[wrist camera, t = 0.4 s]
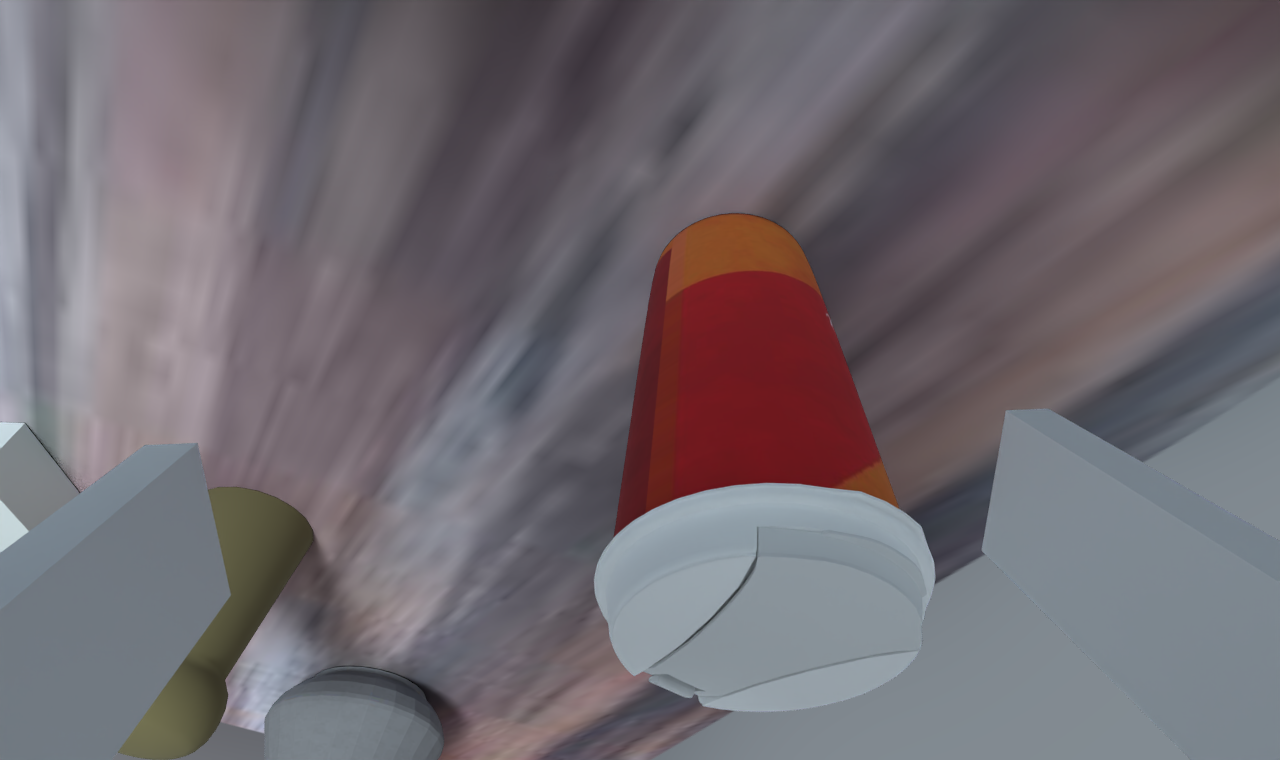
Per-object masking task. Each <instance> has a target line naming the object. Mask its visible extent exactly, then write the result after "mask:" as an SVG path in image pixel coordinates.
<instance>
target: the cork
mask: <svg viewBox="0 0 1280 760" xmlns="http://www.w3.org/2000/svg"><path fill="white" fill-rule="evenodd" d="M208 493H209V498H210V502H211V507H212V511H213V516H214V520H215V525H216V529H217V534H218V539H219V543H220V548H221V552H222V557H223V561H224V566H225V570H226V575H227V579H228V584H229V589H230V593H231V596H230V597H229V599H228V600H227V601H226V603H225V604H224V605H223V607H222V608H221V610H220V611H219V612H218V614H217V615H216V617H215V618H214V619H213V621H212V622H211V623H210V625H209V626H208V628H207V629H206V630H205V632H204V633H203V635H202V636H201V637H200V639H199V640H198V641H197V643H196V644H195V646H194V647H193V648H192V650H191V651H190V653H189V654H188V655H187V657H186V658H185V660H184V661H183V662H182V664H181V665H180V666H179V668H178V669H177V671H176V672H175V673H174V675H173V676H172V678H171V679H170V680H169V682H168V683H167V684H166V686H165V687H164V689H163V690H162V691H161V693H160V694H159V696H158V697H157V698H156V700H155V701H154V702H153V704H152V705H151V707H150V708H149V709H148V711H147V712H146V714H145V715H144V716H143V718H142V719H141V721H140V722H139V723H138V725H137V726H136V727H135V729H134V730H133V732H132V733H131V734H130V736H129V737H128V739H127V740H126V741H125V743H124V744H123V745H122V747H121V748H120V750H119V751H118V753H121V754H125V755H129V756H133V757H138V758H145V759H152V760H168V759H175V758H179V757H183V756H186V755H189V754H191V753H193V752H195V751H196V750H197V749H199V748H200V747H201V746H202V745H204V744H205V743H206V742H207V741H208V739H209V738H210V737H211V735H212V734H213V733H214V731H215V730H216V728H217V726H218V725H219V723H220V721H221V719H222V716H223V714H224V712H225V709H226V704H227V699H228V692H227V687H226V682H225V679H226V678H227V676H228V674H229V673H230V671H231V670H232V668H233V667H234V665H235V663H236V662H237V660H238V659H239V657H240V656H241V654H242V652H243V651H244V649H245V648H246V646H247V645H248V643H249V641H250V640H251V638H252V637H253V635H254V634H255V632H256V631H257V629H258V627H259V626H260V624H261V623H262V621H263V620H264V618H265V616H266V615H267V613H268V612H269V610H270V609H271V607H272V605H273V604H274V602H275V601H276V599H277V598H278V596H279V594H280V593H281V591H282V590H283V588H284V587H285V585H286V583H287V582H288V580H289V579H290V577H291V576H292V574H293V573H294V571H295V569H296V568H297V566H298V565H299V563H300V562H301V560H302V558H303V557H304V555H305V554H306V552H307V551H308V549H309V547H310V545H311V544H312V542H313V530H312V528H311V526H310V525H309V523H308V522H307V520H306V518H305V517H303V516H302V515H301V514H300V513H299V512H298V511H297V510H296V509H295V508H293V507H292V506H290V505H288V504H287V503H285V502H283V501H281V500H280V499H278V498H276V497H273V496H270V495H267V494H265V493H262V492H259V491H256V490H250V489H245V488H239V487H217V488H214V489H210V490H208Z"/></svg>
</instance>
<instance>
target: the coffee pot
mask: <svg viewBox="0 0 1280 760" xmlns="http://www.w3.org/2000/svg"><path fill="white" fill-rule="evenodd" d="M443 745H444V736H443V730H442V725H441V723H440V720H439V718H438V716H437V714H436V712H435V711H434V709H433V707H432V706H431V705H430V704H429V703H428V702H427V701H426V697H425V695H424V692H423V691H422V690H421V689H420V688H419V687H418V686H417V685H415V684H413V683H412V682H410V681H409V680H407V679H405V678H402V677H400V676H398V675H395V674H393V673H389V672H386V671H382V670H378V669H372V668H366V667H351V666H346V667H336V668H331V669H327V670H324V671H322V672H320V673H318V674H317V675H315V677H314V678H311V679H308V680H305V681H304V682H302V683H300V684H298V685H297V686H295V687H293V688H291V689H290V690H288V691H287V692H285V693H284V694H283V695H282V696H281V697H280V698H279V699H278V700H277V701H276V702H275V703H274V704H273V705H272V707H271V708H270V710H269V712H268V713H267V715H266V717H265V760H438V759H439V757H440V755H441V753H442V749H443Z"/></svg>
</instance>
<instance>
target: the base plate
mask: <svg viewBox="0 0 1280 760" xmlns="http://www.w3.org/2000/svg"><path fill="white" fill-rule="evenodd" d="M79 494H80V493H79V492H78V490H77V489H76V488H75V486H74V485H73V484H72V483H71V481H70V480H69V479H68V478H67V476H66V475H65V474H64V473H63V471H62V470H61V469H60V467H59V466H58V465H57V464H56V462H55V461H54V460H53V459H52V457H51V456H50V455H49V453H48V452H47V451H46V450H45V448H44V447H43V446H42V445H41V443H40V442H39V441H38V439H37V438H36V437H35V436H34V434H33V433H32V432H31V431H30V429H29V428H28V427H27V425H26V424H25V423H6V422H0V553H1V552H2V551H3V550H5V549H6V548H7V547H9V546H10V545H11V544H13V543H14V542H15V541H17V540H18V539H20V538H21V537H22V536H24V535H25V534H26V533H28V532H29V531H30V530H32V529H33V528H34V527H36V526H37V525H38V524H40V523H41V522H42V521H44V520H45V519H46V518H48V517H49V516H50V515H52V514H53V513H54V512H56V511H57V510H58V509H60V508H61V507H63V506H64V505H65V504H67V503H68V502H69V501H71V500H72V499H73V498H75V497H76V496H77V495H79Z"/></svg>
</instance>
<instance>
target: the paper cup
mask: <svg viewBox="0 0 1280 760" xmlns="http://www.w3.org/2000/svg"><path fill="white" fill-rule="evenodd" d="M935 578H936V576H935V566H934V560H933V557H932V555H931V552H930V550H929V548H928V545H927V542H926V539H925V536H924V533H923V529H922V526H920V525H919V524H918V523H917V522H916V521H915V520H913V519H912V518H911V517H910V516H909V515H908V514H906V513H905V512H903V511H901V510H900V509H899V506H898V504H897V501H896V498H895V495H894V493H893V490H892V487H891V484H890V482H889V479H888V476H887V473H886V471H885V468H884V465H883V462H882V460H881V457H880V454H879V451H878V449H877V446H876V443H875V440H874V437H873V435H872V432H871V429H870V426H869V424H868V421H867V418H866V415H865V413H864V410H863V407H862V404H861V401H860V399H859V396H858V393H857V390H856V388H855V385H854V382H853V379H852V377H851V374H850V371H849V368H848V366H847V363H846V360H845V357H844V355H843V352H842V349H841V346H840V344H839V341H838V338H837V336H836V333H835V330H834V327H833V325H832V322H831V319H830V316H829V314H828V311H827V309H826V306H825V303H824V301H823V298H822V295H821V293H820V290H819V287H818V285H817V282H816V280H815V277H814V275H813V272H812V270H811V267H810V265H809V263H808V260H807V258H806V256H805V254H804V252H803V250H802V248H801V247H800V245H799V244H798V242H797V241H796V240H795V239H794V237H793V236H792V235H791V234H790V233H789V232H788V231H786V230H785V229H784V228H782V227H781V226H779V225H778V224H776V223H774V222H772V221H770V220H768V219H765V218H762V217H759V216H755V215H750V214H740V213H731V214H721V215H716V216H712V217H708V218H705V219H703V220H700V221H698V222H696V223H694V224H692V225H690V226H688V227H687V228H685V229H684V230H682V231H681V232H680V233H679V234H677V235H676V236H675V237H674V238H673V239H672V240H671V241H670V243H669V244H668V245H667V246H666V248H665V249H664V251H663V253H662V254H661V256H660V259H659V261H658V263H657V266H656V270H655V274H654V278H653V282H652V287H651V293H650V298H649V304H648V311H647V317H646V323H645V329H644V336H643V342H642V349H641V356H640V362H639V369H638V376H637V382H636V389H635V395H634V402H633V409H632V416H631V423H630V430H629V437H628V443H627V450H626V457H625V464H624V471H623V478H622V484H621V491H620V498H619V505H618V512H617V518H616V525H615V532H614V538H613V539H612V541H611V542H610V543H609V544H608V545H607V547H606V548H605V549H604V551H603V553H602V555H601V557H600V559H599V561H598V563H597V567H596V572H595V577H594V588H595V597H596V599H597V602H598V605H599V607H600V610H601V611H602V614H603V616H604V617H605V619H606V620H607V622H608V625H609V636H610V640H611V643H612V645H613V648H614V651H615V653H616V654H617V657H618V658H619V660H620V661H621V663H622V664H623V665H624V667H625V668H626V669H627V670H628V671H629V672H630V673H631V674H632V675H633V676H635V675H637V674H639V673H641V672H642V671H644V672H646V673H648V674H651V675H653V676H651V677H650V678H649V682H651V683H653V684H655V685H658V686H660V687H662V688H665V689H667V690H669V691H671V692H674V693H676V694H678V695H681V696H683V697H686V698H692V697H693V695H694V694H696V695H698V698H699V702H700V703H702V706H706V707H711V708H716V709H724V710H733V711H748V712H775V711H776V712H779V711H791V710H801V709H808V708H814V707H819V706H825V705H829V704H833V703H837V702H841V701H845V700H848V699H851V698H853V697H856V696H859V695H862V694H865V693H867V692H869V691H871V690H873V689H875V688H877V687H880V686H882V685H883V684H885V683H887V682H888V681H890V680H892V679H893V678H895V677H896V676H897V675H899V674H900V673H901V672H902V671H903V670H905V669H906V668H907V667H908V666H909V664H911V663H912V661H913V660H914V659H915V658H916V656H917V655H918V653H919V651H920V648H921V646H922V623H923V621H924V617H925V612H926V608H927V606H928V604H929V601H930V599H931V595H932V592H933V588H934V583H935ZM695 687H696V688H695Z"/></svg>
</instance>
